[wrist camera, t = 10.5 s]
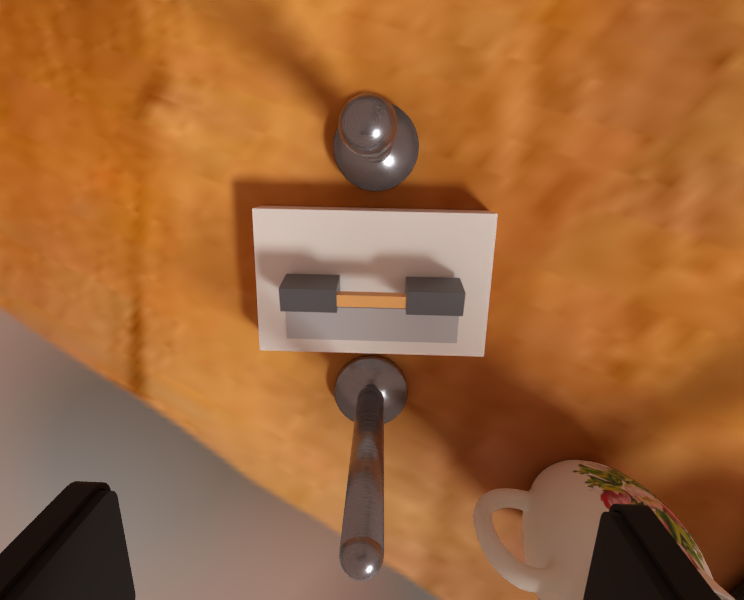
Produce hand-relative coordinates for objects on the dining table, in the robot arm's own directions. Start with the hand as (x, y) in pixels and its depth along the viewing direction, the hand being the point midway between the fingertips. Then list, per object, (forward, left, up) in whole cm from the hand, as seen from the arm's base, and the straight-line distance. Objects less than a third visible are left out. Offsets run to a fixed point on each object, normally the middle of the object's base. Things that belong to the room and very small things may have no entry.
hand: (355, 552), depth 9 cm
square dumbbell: (0, 0, -22) cm, 22 cm away
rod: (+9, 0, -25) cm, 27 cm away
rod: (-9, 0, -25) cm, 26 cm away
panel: (0, 0, -25) cm, 25 cm away
